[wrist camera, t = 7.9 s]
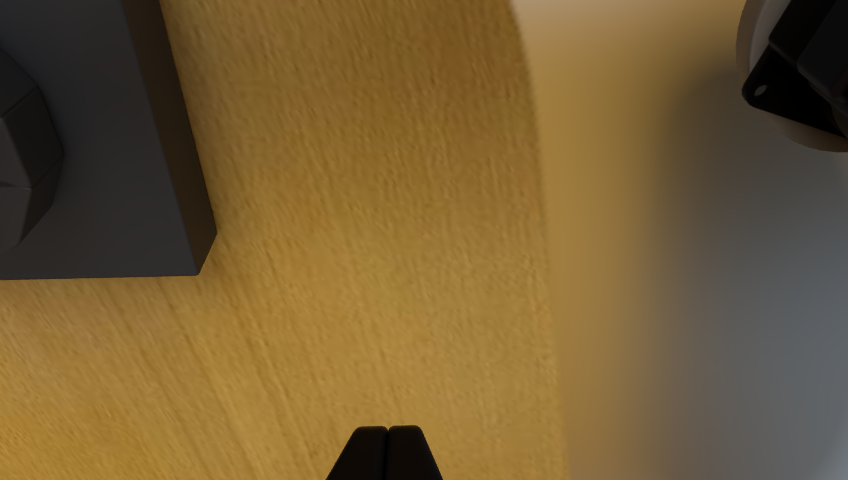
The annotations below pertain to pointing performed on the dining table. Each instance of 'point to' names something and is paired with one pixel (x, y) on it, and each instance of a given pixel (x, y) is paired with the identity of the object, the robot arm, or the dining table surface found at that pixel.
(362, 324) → the dining table surface
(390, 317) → the dining table surface
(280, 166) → the dining table surface
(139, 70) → the switch base
